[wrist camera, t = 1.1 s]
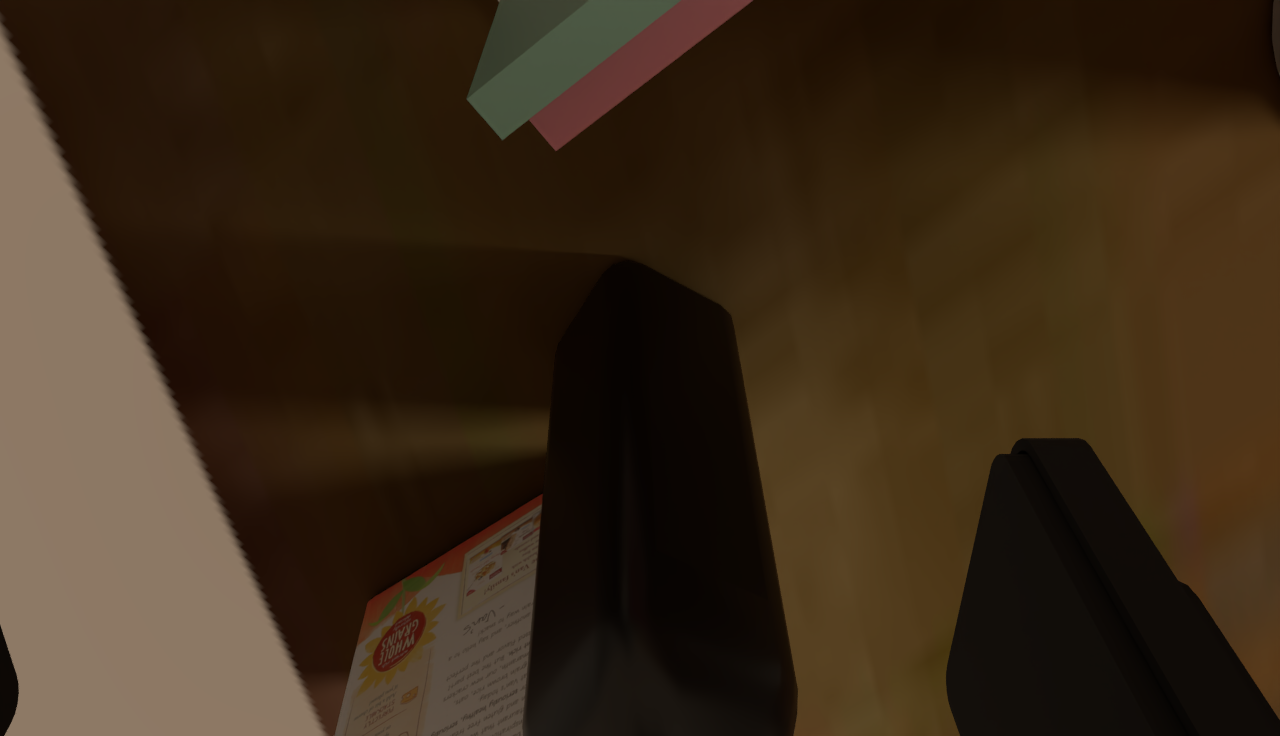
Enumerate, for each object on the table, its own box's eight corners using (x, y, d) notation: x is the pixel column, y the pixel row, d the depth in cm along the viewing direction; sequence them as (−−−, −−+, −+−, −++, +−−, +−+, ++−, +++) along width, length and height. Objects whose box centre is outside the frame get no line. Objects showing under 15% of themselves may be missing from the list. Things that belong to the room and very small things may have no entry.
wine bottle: (668, 420, 49) (726, 1279, 23) (545, 359, 47) (458, 1208, 21) (744, 313, 46) (906, 1141, 20) (617, 246, 45) (617, 1050, 19)
